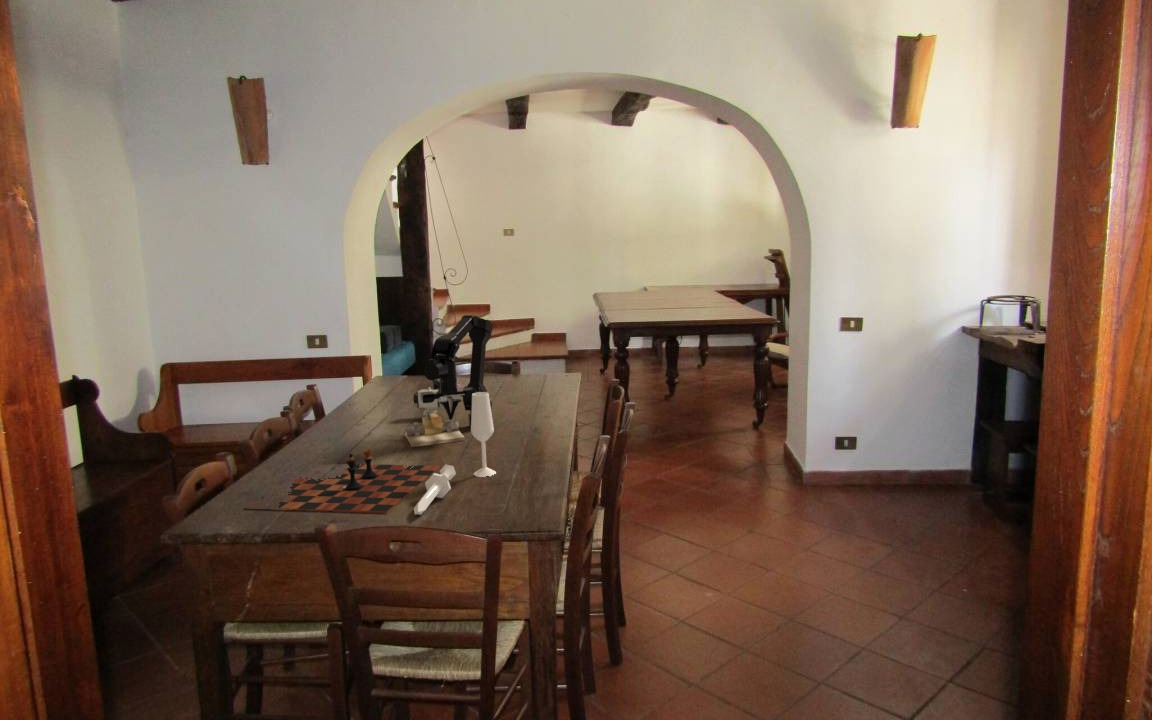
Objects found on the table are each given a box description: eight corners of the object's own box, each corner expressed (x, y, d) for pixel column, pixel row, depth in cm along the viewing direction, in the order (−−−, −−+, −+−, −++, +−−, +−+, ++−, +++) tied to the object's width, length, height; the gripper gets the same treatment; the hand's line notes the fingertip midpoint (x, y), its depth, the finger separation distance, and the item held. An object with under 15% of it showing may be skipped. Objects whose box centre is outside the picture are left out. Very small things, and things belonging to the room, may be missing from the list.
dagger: (431, 516, 189) (468, 465, 215) (412, 500, 188) (452, 451, 214) (413, 534, 192) (452, 482, 217) (394, 518, 191) (436, 467, 217)
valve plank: (455, 429, 277) (454, 411, 276) (464, 440, 262) (463, 421, 261) (405, 435, 271) (404, 417, 270) (411, 447, 256) (410, 427, 255)
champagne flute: (486, 478, 221) (482, 397, 217) (468, 475, 224) (463, 395, 220) (500, 471, 226) (496, 392, 222) (483, 468, 230) (478, 390, 226)
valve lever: (435, 415, 270) (435, 410, 270) (442, 423, 258) (442, 418, 257) (426, 416, 269) (426, 411, 269) (432, 424, 257) (432, 419, 256)
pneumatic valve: (443, 419, 293) (441, 388, 291) (414, 419, 295) (412, 389, 293) (448, 415, 299) (446, 385, 297) (419, 416, 300) (417, 386, 298)
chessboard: (386, 515, 195) (383, 473, 194) (245, 510, 203) (240, 470, 201) (441, 468, 234) (438, 434, 233) (320, 466, 241) (317, 432, 240)
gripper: (469, 368, 269) (472, 411, 272) (416, 373, 263) (419, 417, 266) (476, 373, 259) (479, 418, 262) (421, 379, 253) (424, 424, 255)
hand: (450, 419), depth 261 cm, fingers closed
